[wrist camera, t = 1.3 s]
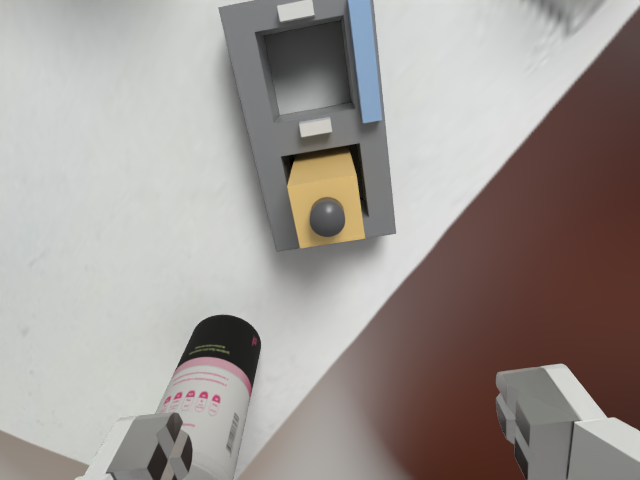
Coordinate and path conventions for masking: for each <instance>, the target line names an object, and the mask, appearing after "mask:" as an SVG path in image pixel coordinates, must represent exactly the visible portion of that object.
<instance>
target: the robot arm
mask: <svg viewBox="0 0 640 480" xmlns="http://www.w3.org/2000/svg"><path fill="white" fill-rule="evenodd" d="M496 385H497V387H498V389H499V391H500V394H499V395H498V396H497V398H496V409H497V414H498V419H499V422H500V425H501V428H502V430H503V432H504V435H505V437H506V439H507V440H509V441H510V442H512V443H513V444H514V445H515V454H514V456H515V458H516V460H517V462H518V464H519V467H520V469H521V471H522V473H523V475H524V477H525V479H526V480H640V431H638V430H637V429H635V428H633V427H631V426H629V425H627V424H625V423H624V422H622V421H620V420H618V419H616V418H607V417H606V416H605V414H604V413H603V412H602V410H601V409H600V408H599V407H598V405H597V404H596V403H595V402H594V400H593V399H592V398H591V397H590V395H589V394H588V393H587V391H586V390H585V389H584V388H583V386H582V385H581V384H580V383H579V381H578V380H577V379H576V378H575V376H574V375H573V374H572V373H571V371H570V370H569V369H568V368H567V366H565V365H563V364H556V365H548V366H541V367H534V368H526V369H519V370H511V371H503V372H498V373H497V376H496ZM182 424H183V421H182V419H181V417H180V415H179V413H175V412H172V413H162V414H151V415H141V416H135V417H124V418H120V419H119V420H118V421H116V422H115V423H114V425H113V427H112V429H111V430H110V432H109V434H108V435H107V437H106V439H105V441H104V442H103V444H102V446H101V447H100V449H99V451H98V452H97V454H96V456H95V458H94V459H93V461H92V463H91V464H90V466H89V468H88V470H87V471H86V473H85V475H84V476H81V477H77V478H76V479H75V480H183V479H184V477H185V476H186V475H187V474H188V473H189V470H190V467H191V463H192V454H193V448H192V442H191V439H190V437H189V434H187V433H186V432H184V431H183V430H181V426H182Z"/></svg>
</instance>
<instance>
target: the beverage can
mask: <svg viewBox="0 0 640 480" xmlns="http://www.w3.org/2000/svg"><path fill="white" fill-rule="evenodd" d="M260 349H261V341H260V337H259V335H258V333H257V331H256V330H255V329H254V327H253V326H252V325H250V324H249V323H248V322H246V321H245V320H243V319H241V318H238V317H235V316H231V315H215V316H211V317H208V318H206V319H204V320H203V321H201V322H200V323H199V324H198V325H197V326H196V328H195V329H194V332H193V334H192V336H191V338H190V340H189V342H188V344H187V347H186V349H185V351H184V353H183V355H182V357H181V359H180V362H179V364H178V366H177V368H176V370H175V372H174V374H173V377H172V379H171V381H170V383H169V385H168V387H167V389H166V392H165V394H164V396H163V398H162V400H161V402H160V404H159V407H158V409H157V411H156V413H155V414H162V413H172V412H175V413H179V415H180V417H181V419H182V421H183V424H182V426H181V430H183V431H184V432H186V433H187V434H189V437H190V439H191V442H192V448H193V454H192V463H191V467H190V470H189V473H188V474H187V475H186V476H185V477H184V479H183V480H233V478H234V473H235V468H236V464H237V459H238V454H239V449H240V445H241V440H242V435H243V430H244V426H245V421H246V416H247V411H248V406H249V402H250V397H251V392H252V387H253V383H254V378H255V373H256V368H257V364H258V359H259V354H260Z"/></svg>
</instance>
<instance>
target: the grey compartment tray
mask: <svg viewBox="0 0 640 480" xmlns="http://www.w3.org/2000/svg"><path fill="white" fill-rule="evenodd" d="M219 13H220V17H221V21H222V25H223V29H224V34H225V38H226V42H227V46H228V50H229V54H230V59H231V63H232V67H233V71H234V75H235V80H236V84H237V88H238V92H239V96H240V101H241V105H242V109H243V113H244V117H245V121H246V126H247V130H248V134H249V138H250V142H251V147H252V151H253V155H254V159H255V163H256V168H257V172H258V176H259V180H260V184H261V188H262V193H263V197H264V201H265V205H266V209H267V214H268V218H269V222H270V226H271V230H272V234H273V239H274V243H275V247H276V251H277V252H278V251H284V250H291V249H298V248H300V245H299V240H298V236H297V231H296V226H295V221H294V217H293V212H292V207H291V202H290V198H289V193H288V188H287V185H288V181H289V177H290V174H291V169H290V164H289V159H288V155H292V154H298V153H304V152H310V151H316V150H322V149H328V148H334V147H340V146H346V145H352V144H357V149H358V157H359V165H360V172H361V180H362V188H363V196H364V200H360V204H361V212H362V219H363V226H364V234H365V238H371V237H377V236H384V235H390V234H396V228H395V217H394V207H393V197H392V187H391V177H390V167H389V156H388V146H387V136H386V126H385V116H384V105H383V95H382V85H381V75H380V65H379V55H378V44H377V34H376V24H375V14H374V4H373V0H254V1H249V2H244V3H239V4H234V5H229V6H224V7H219ZM340 20H341V26H342V34H343V41H344V49H345V57H346V64H347V72H348V80H349V88H350V95H351V103H347V104H341V105H335V106H330V107H324V108H318V109H313V110H307V111H301V112H296V113H290V114H284V115H280V114H279V109H278V105H277V100H276V95H275V90H274V85H273V80H272V75H271V70H270V65H269V60H268V55H267V50H266V45H265V41H264V36H263V35H267V34H272V33H278V32H283V31H288V30H293V29H299V28H304V27H309V26H314V25H319V24H325V23H330V22H335V21H340Z"/></svg>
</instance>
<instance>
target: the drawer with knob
mask: <svg viewBox="0 0 640 480" xmlns="http://www.w3.org/2000/svg"><path fill="white" fill-rule="evenodd" d="M287 188H288V193H289V198H290V202H291V207H292V212H293V217H294V221H295V226H296V231H297V236H298V240H299V245H300V248H307V247H313V246H320V245H326V244H333V243H340V242H346V241H353V240H360V239H365V234H364V226H363V219H362V212H361V204H360V197H359V189H358V182H357V175H356V171H355V168H354V164H353V161H352V157H351V154H350V150H349V147H348V145H346V146H340V147H334V148H328V149H322V150H316V151H310V152H304V153H298V154H296V155H295V159H294V163H293V166H292V170H291V174H290V177H289V181H288V185H287Z"/></svg>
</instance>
